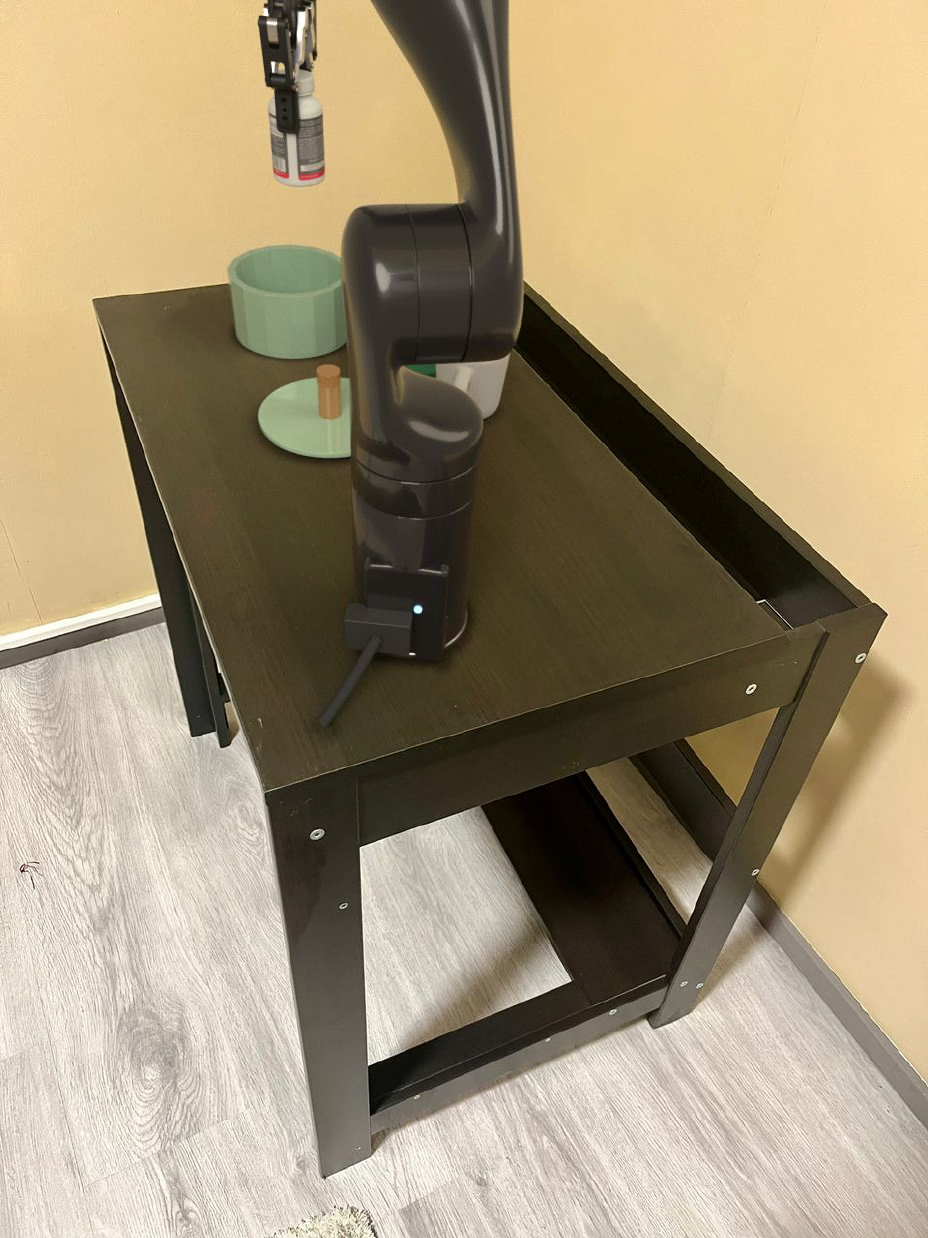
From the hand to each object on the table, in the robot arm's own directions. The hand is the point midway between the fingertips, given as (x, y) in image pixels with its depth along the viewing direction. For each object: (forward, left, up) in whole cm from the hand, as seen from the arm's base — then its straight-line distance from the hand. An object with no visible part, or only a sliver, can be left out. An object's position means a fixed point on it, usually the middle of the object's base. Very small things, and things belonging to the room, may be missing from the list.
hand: (295, 121), depth 91 cm
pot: (+1, +2, -24) cm, 24 cm away
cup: (-14, -20, -24) cm, 34 cm away
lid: (-18, -6, -23) cm, 29 cm away
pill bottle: (0, 0, -6) cm, 6 cm away
